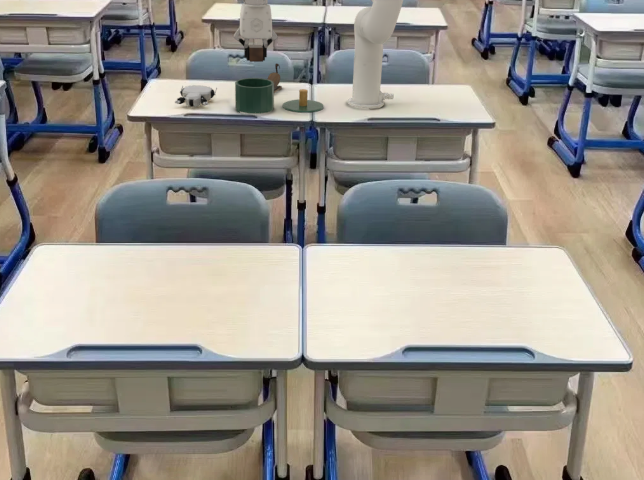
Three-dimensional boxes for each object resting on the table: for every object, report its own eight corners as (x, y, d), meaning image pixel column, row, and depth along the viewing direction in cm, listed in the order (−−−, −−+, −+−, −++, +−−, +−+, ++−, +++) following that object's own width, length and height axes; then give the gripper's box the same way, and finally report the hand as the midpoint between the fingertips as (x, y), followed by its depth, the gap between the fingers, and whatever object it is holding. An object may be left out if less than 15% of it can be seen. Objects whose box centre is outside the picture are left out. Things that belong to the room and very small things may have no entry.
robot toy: (209, 113, 270) (218, 97, 283) (208, 99, 268) (217, 85, 280) (173, 111, 271) (183, 95, 284) (172, 97, 269) (182, 83, 281)
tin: (270, 104, 279) (270, 77, 274) (276, 114, 268) (276, 87, 263) (233, 105, 277) (233, 78, 272) (237, 115, 266) (237, 88, 261)
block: (261, 58, 267) (261, 44, 265) (263, 61, 263) (263, 47, 261) (248, 58, 266) (248, 44, 264) (249, 61, 262) (249, 47, 260)
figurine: (273, 84, 301) (273, 60, 297) (285, 85, 300) (285, 61, 296) (261, 94, 290) (261, 69, 285) (273, 95, 289) (274, 70, 284)
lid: (319, 102, 282) (319, 84, 279) (327, 113, 270) (327, 95, 267) (279, 103, 280) (280, 85, 277) (286, 115, 268) (286, 96, 265)
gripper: (230, 2, 251) (230, 62, 260) (284, 2, 254) (282, 62, 263) (227, -2, 257) (228, 57, 266) (280, -2, 260) (279, 57, 269)
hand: (255, 59), depth 264 cm, fingers closed on block, 4 cm apart
